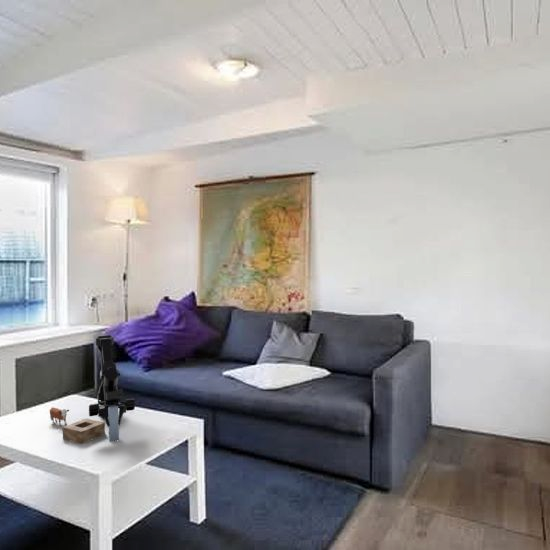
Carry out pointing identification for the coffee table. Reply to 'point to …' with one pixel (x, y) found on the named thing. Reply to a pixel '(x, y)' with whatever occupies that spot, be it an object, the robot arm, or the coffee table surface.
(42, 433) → the coffee table surface
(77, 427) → the socket
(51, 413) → the bull figurine
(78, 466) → the coffee table surface
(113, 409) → the dowel
